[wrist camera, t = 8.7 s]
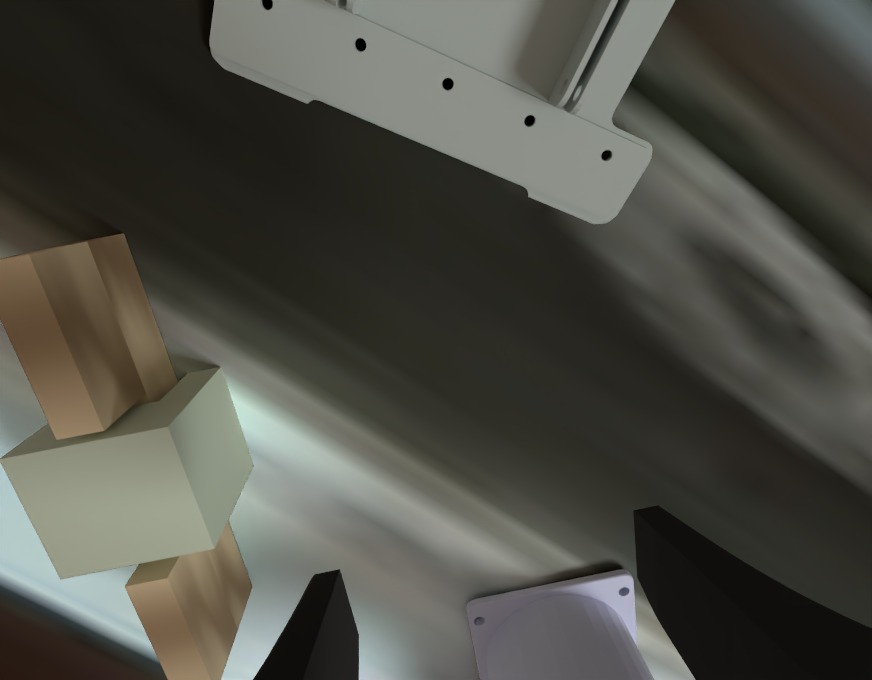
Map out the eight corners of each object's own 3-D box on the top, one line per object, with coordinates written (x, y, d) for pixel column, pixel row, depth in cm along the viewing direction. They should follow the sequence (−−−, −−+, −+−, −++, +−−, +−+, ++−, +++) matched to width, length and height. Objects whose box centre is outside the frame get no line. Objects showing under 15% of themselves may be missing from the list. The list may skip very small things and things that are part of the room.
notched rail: (252, 586, 23) (216, 692, 18) (221, 592, 23) (177, 700, 18) (123, 233, 18) (28, 254, 13) (84, 240, 18) (-26, 264, 13)
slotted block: (253, 465, 21) (214, 548, 17) (134, 488, 21) (60, 579, 17) (221, 366, 20) (167, 426, 15) (92, 391, 20) (-2, 459, 15)
